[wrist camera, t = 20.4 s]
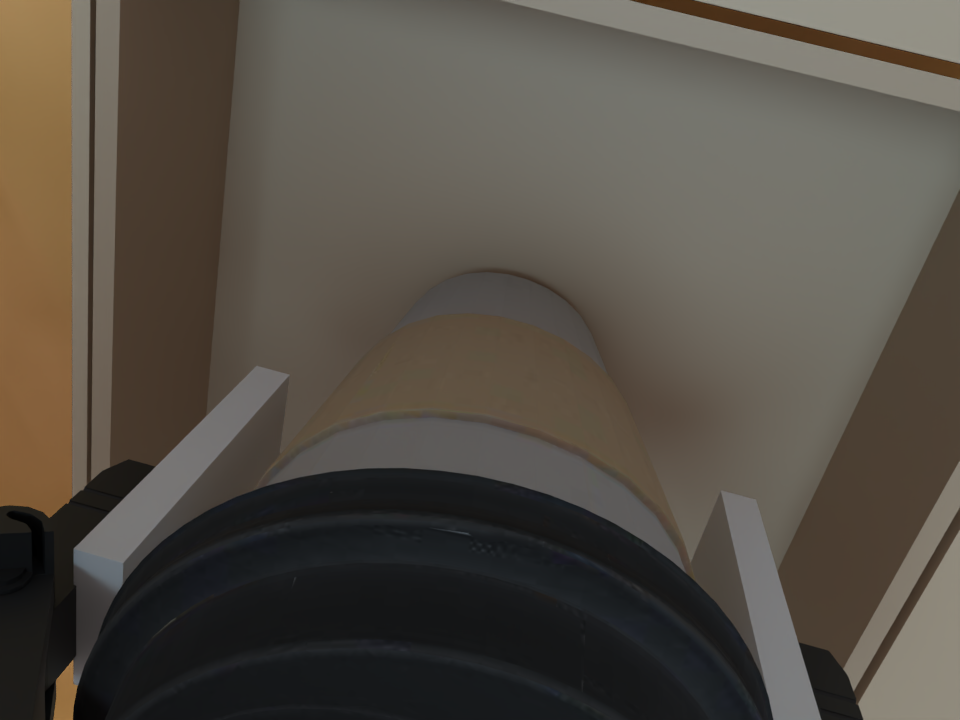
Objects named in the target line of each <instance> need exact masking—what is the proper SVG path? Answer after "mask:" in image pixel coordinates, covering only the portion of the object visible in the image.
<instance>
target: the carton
mask: <svg viewBox="0 0 960 720" xmlns="http://www.w3.org/2000/svg"><path fill="white" fill-rule="evenodd" d="M693 1H697V2H701V3H706V4H710V5H714V6H718V7H722V8H727V9H731V10H735V11H739V12H743V13H747V14H752V15H756V16H760V17H764V18H768V19H773V20H777V21H781V22H785V23H789V24H793V25H798V26H802V27H806V28H810V29H814V30H819V31H823V32H827V33H831V34H835V35H839V36H844V37H848V38H852V39H856V40H860V41H865V42H869V43H873V44H877V45H881V46H885V47H890V48H894V49H898V50H902V51H906V52H911V53H915V54H919V55H923V56H927V57H931V58H936V59H940V60H944V61H948V62H952V63H957V64H960V0H693ZM480 272H492V273H502V274H509V275H513V276H517V277H520V278H524V279H527V280H530V281H533V282H535V283H537V284H539V285H541V286H543V287H546V288H548V289H550V290H551V291H552V292H554V293H555V294H557V295H558V296H560V297H561V298H563V299H564V300H566V301H567V302H568V303H569V304H570V305H571V306H572V307H573V308H574V309H575V310H576V311H577V312H578V313H579V314H580V316H581V317H582V319H583V321H584V322H585V324H586V326H587V327H588V329H589V330H590V332H591V334H592V337H593V339H594V342H595V344H596V346H597V349H598V351H599V354H600V356H601V359H602V361H603V364H604V366H605V369H606V371H607V373H608V375H609V376H610V377H611V379H612V380H613V382H614V383H615V385H616V387H617V388H618V390H619V391H620V393H621V395H622V396H623V398H624V399H625V401H626V403H627V405H628V407H629V410H630V412H631V415H632V417H633V419H634V422H635V424H636V427H637V429H638V431H639V434H640V436H641V439H642V441H643V443H644V446H645V448H646V451H647V453H648V455H649V458H650V460H651V463H652V465H653V468H654V470H655V472H656V475H657V477H658V480H659V482H660V484H661V487H662V489H663V492H664V494H665V496H666V499H667V501H668V504H669V506H670V509H671V511H672V513H673V516H674V518H675V521H676V523H677V525H678V528H679V530H680V533H681V535H682V537H683V540H684V542H685V546H686V549H687V553H688V556H689V560H690V563H691V561H692V558H693V556H694V554H695V551H696V549H697V546H698V544H699V542H700V539H701V537H702V534H703V532H704V530H705V527H706V525H707V522H708V520H709V518H710V515H711V513H712V510H713V508H714V506H715V503H716V501H717V498H718V496H719V494H720V491H721V490H722V491H725V492H729V493H733V494H737V495H740V496H744V497H748V498H752V499H755V500H756V502H757V505H758V508H759V512H760V515H761V518H762V522H763V525H764V529H765V532H766V535H767V539H768V542H769V545H770V549H771V552H772V555H773V559H774V562H775V566H776V569H777V572H778V576H779V579H780V582H781V586H782V589H783V593H784V596H785V599H786V603H787V606H788V609H789V613H790V616H791V619H792V623H793V626H794V630H795V633H796V636H797V640H798V642H800V643H803V644H807V645H810V646H814V647H818V648H821V649H825V650H829V652H830V653H831V654H832V655H833V657H834V658H835V659H836V661H837V662H838V663H839V665H840V666H841V667H842V668H843V670H844V671H845V672H846V674H847V675H848V677H849V680H850V683H851V686H852V688H853V691H854V694H855V697H856V704H857V705H859V708H860V711H861V714H862V717H863V719H864V720H960V80H959V79H955V78H951V77H947V76H942V75H938V74H934V73H930V72H926V71H922V70H917V69H913V68H909V67H905V66H901V65H897V64H892V63H888V62H884V61H880V60H876V59H872V58H867V57H863V56H859V55H855V54H851V53H847V52H842V51H838V50H834V49H830V48H826V47H822V46H817V45H813V44H809V43H805V42H801V41H797V40H792V39H788V38H784V37H780V36H776V35H772V34H767V33H763V32H759V31H755V30H751V29H747V28H742V27H738V26H734V25H730V24H726V23H722V22H717V21H713V20H709V19H705V18H701V17H697V16H692V15H688V14H684V13H680V12H676V11H672V10H667V9H663V8H659V7H655V6H651V5H647V4H642V3H638V2H634V1H630V0H72V498H73V497H74V496H75V495H76V494H77V493H78V492H79V491H80V490H84V487H85V486H86V485H87V484H88V483H89V482H90V481H91V480H93V479H94V478H95V477H96V476H97V475H98V474H99V473H100V472H101V471H103V470H105V469H107V468H110V467H112V466H114V465H116V464H119V463H121V462H123V461H126V460H128V459H130V460H134V461H137V462H141V463H144V464H148V465H152V466H155V467H156V466H157V465H158V464H159V463H160V462H161V461H162V460H163V459H164V458H165V457H166V456H167V455H168V454H169V453H170V452H171V451H172V450H173V449H174V448H175V447H176V446H177V445H178V444H179V443H180V442H181V441H182V440H183V439H184V438H185V437H186V436H187V435H188V434H189V433H190V432H191V431H192V430H193V429H194V428H195V427H196V426H197V425H198V424H199V423H200V422H201V421H202V420H203V419H204V418H205V417H206V416H207V415H208V414H209V413H210V412H211V411H212V410H213V409H214V408H215V407H216V406H217V405H218V404H219V403H220V402H221V401H222V400H223V399H224V398H225V397H226V396H227V395H228V394H229V393H230V392H231V391H232V390H233V389H234V388H235V387H236V386H237V385H238V384H239V383H240V382H241V381H242V380H243V379H244V378H245V377H246V376H247V375H248V374H249V373H250V372H251V371H252V370H253V369H254V368H255V367H256V366H259V367H263V368H267V369H270V370H274V371H278V372H282V373H285V374H289V375H290V377H289V385H288V392H287V400H286V408H285V416H284V423H283V431H282V439H281V447H280V454H281V453H282V452H283V451H284V450H285V448H286V447H287V446H288V445H289V444H290V443H291V441H292V440H293V439H294V438H295V437H296V435H297V434H298V433H299V432H300V431H301V429H302V428H303V427H304V426H305V425H306V423H307V422H308V421H309V420H310V419H311V418H312V416H313V415H314V414H315V413H316V412H317V410H318V409H319V408H320V407H321V406H322V404H323V403H324V402H325V401H326V400H327V399H328V397H329V396H330V395H331V394H332V393H333V391H334V390H335V389H336V388H337V387H338V385H339V384H340V383H341V382H342V381H343V379H344V378H345V377H346V376H347V375H348V374H349V372H350V371H351V370H352V369H353V368H354V366H355V365H356V364H357V363H358V362H359V360H360V359H361V358H362V357H363V356H364V355H365V354H366V353H368V352H369V351H370V350H371V349H372V348H373V347H374V346H375V345H376V344H377V343H378V342H379V341H380V340H381V339H383V338H384V337H386V336H388V335H389V334H390V333H391V332H392V331H393V330H394V329H395V327H396V326H397V325H398V324H399V322H400V321H401V320H402V319H403V318H404V316H405V315H406V314H407V313H408V312H409V310H410V309H411V308H412V307H413V306H414V304H415V303H416V302H417V301H418V300H419V299H421V298H422V297H423V296H424V295H425V294H426V293H427V292H428V291H429V290H430V289H432V288H433V287H435V286H437V285H438V284H440V283H442V282H444V281H445V280H447V279H450V278H453V277H457V276H460V275H463V274H468V273H480ZM280 454H279V456H280Z"/></svg>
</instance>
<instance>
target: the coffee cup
mask: <svg viewBox="0 0 960 720" xmlns="http://www.w3.org/2000/svg"><path fill="white" fill-rule="evenodd" d="M73 720H773V715H772V711H771V706H770V701H769V697H768V694H767V691H766V688H765V685H764V682H763V679H762V676H761V673H760V671H759V669H758V667H757V665H756V663H755V661H754V659H753V656H752V654H751V652H750V650H749V648H748V647H747V645H746V644H745V642H744V640H743V639H742V637H741V636H740V634H739V632H738V631H737V629H736V628H735V626H734V625H733V623H732V622H731V621H730V620H729V618H728V617H727V616H726V615H725V613H724V612H723V611H722V609H721V608H720V607H719V606H718V604H717V603H716V602H715V601H714V600H713V599H712V598H711V597H710V596H709V595H708V594H707V593H706V592H705V591H704V590H703V589H702V588H701V587H700V586H699V585H698V583H697V582H696V581H695V577H694V574H693V570H692V567H691V563H690V560H689V556H688V553H687V549H686V546H685V542H684V540H683V537H682V535H681V533H680V530H679V528H678V525H677V523H676V521H675V518H674V516H673V513H672V511H671V509H670V506H669V504H668V501H667V499H666V496H665V494H664V492H663V489H662V487H661V484H660V482H659V480H658V477H657V475H656V472H655V470H654V468H653V465H652V463H651V460H650V458H649V455H648V453H647V451H646V448H645V446H644V443H643V441H642V439H641V436H640V434H639V431H638V429H637V427H636V424H635V422H634V419H633V417H632V415H631V412H630V410H629V407H628V405H627V403H626V401H625V399H624V398H623V396H622V395H621V393H620V391H619V390H618V388H617V387H616V385H615V383H614V382H613V380H612V379H611V377H610V376H609V375H608V373H607V371H606V369H605V366H604V364H603V361H602V359H601V356H600V354H599V351H598V349H597V346H596V344H595V342H594V339H593V337H592V334H591V332H590V330H589V329H588V327H587V326H586V324H585V322H584V321H583V319H582V317H581V316H580V314H579V313H578V312H577V311H576V310H575V309H574V308H573V307H572V306H571V305H570V304H569V303H568V302H567V301H566V300H564V299H563V298H561V297H560V296H558V295H557V294H555V293H554V292H552V291H551V290H550V289H548V288H546V287H543V286H541V285H539V284H537V283H535V282H533V281H530V280H527V279H524V278H520V277H517V276H513V275H509V274H502V273H492V272H480V273H468V274H463V275H460V276H457V277H453V278H450V279H447V280H445V281H444V282H442V283H440V284H438V285H437V286H435V287H433V288H432V289H430V290H429V291H428V292H427V293H426V294H425V295H424V296H423V297H422V298H421V299H419V300H418V301H417V302H416V303H415V304H414V306H413V307H412V308H411V309H410V310H409V312H408V313H407V314H406V315H405V316H404V318H403V319H402V320H401V321H400V322H399V324H398V325H397V326H396V327H395V329H394V330H393V331H392V332H391V333H390V334H389V335H388V336H386V337H384V338H383V339H381V340H380V341H379V342H378V343H377V344H376V345H375V346H374V347H373V348H372V349H371V350H370V351H369V352H368V353H366V354H365V355H364V356H363V357H362V358H361V359H360V360H359V362H358V363H357V364H356V365H355V366H354V368H353V369H352V370H351V371H350V372H349V374H348V375H347V376H346V377H345V378H344V379H343V381H342V382H341V383H340V384H339V385H338V387H337V388H336V389H335V390H334V391H333V393H332V394H331V395H330V396H329V397H328V399H327V400H326V401H325V402H324V403H323V404H322V406H321V407H320V408H319V409H318V410H317V412H316V413H315V414H314V415H313V416H312V418H311V419H310V420H309V421H308V422H307V423H306V425H305V426H304V427H303V428H302V429H301V431H300V432H299V433H298V434H297V435H296V437H295V438H294V439H293V440H292V441H291V443H290V444H289V445H288V446H287V447H286V448H285V450H284V451H283V452H282V453H281V454H280V456H279V457H278V458H277V459H276V460H275V462H274V463H273V464H272V465H271V466H270V467H269V469H268V470H267V471H266V472H265V474H264V475H263V477H262V478H261V480H260V481H259V483H258V484H257V486H256V487H255V489H254V490H253V491H251V492H248V493H245V494H242V495H240V496H237V497H235V498H233V499H230V500H228V501H226V502H224V503H222V504H220V505H218V506H216V507H214V508H211V509H209V510H208V511H206V512H204V513H203V514H201V515H199V516H198V517H196V518H194V519H193V520H191V521H189V522H188V523H186V524H184V525H183V526H182V527H180V528H179V529H178V530H176V531H175V532H174V533H172V534H171V535H170V536H168V537H167V538H166V539H164V540H163V541H162V542H161V543H160V544H159V545H157V546H156V547H155V548H154V549H153V550H152V551H151V552H150V553H149V554H148V555H147V556H146V557H145V558H144V559H143V560H142V561H141V562H140V563H139V565H138V566H137V567H136V568H135V569H134V571H133V572H132V573H131V574H130V575H129V577H128V578H127V579H126V580H125V582H124V584H123V585H122V587H121V588H120V590H119V591H118V593H117V594H116V596H115V598H114V599H113V601H112V603H111V605H110V607H109V610H108V612H107V614H106V616H105V618H104V620H103V623H102V626H101V629H100V632H99V635H98V638H97V641H96V642H95V644H94V646H93V648H92V651H91V653H90V655H89V657H88V659H87V661H86V663H85V665H84V668H83V671H82V675H81V678H80V681H79V684H78V687H77V693H76V698H75V704H74V713H73Z"/></svg>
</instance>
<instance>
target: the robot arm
mask: <svg viewBox="0 0 960 720" xmlns="http://www.w3.org/2000/svg"><path fill="white" fill-rule="evenodd" d="M289 377H290V375H289V374H285V373H282V372H278V371H274V370H270V369H267V368H263V367H259V366H256V367H255V368H254V369H253V370H252V371H251V372H250V373H249V374H248V375H247V376H246V377H245V378H244V379H243V380H242V381H241V382H240V383H239V384H238V385H237V386H236V387H235V388H234V389H233V390H232V391H231V392H230V393H229V394H228V395H227V396H226V397H225V398H224V399H223V400H222V401H221V402H220V403H219V404H218V405H217V406H216V407H215V408H214V409H213V410H212V411H211V412H210V413H209V414H208V415H207V416H206V417H205V418H204V419H203V420H202V421H201V422H200V423H199V424H198V425H197V426H196V427H195V428H194V429H193V430H192V431H191V432H190V433H189V434H188V435H187V436H186V437H185V438H184V439H183V440H182V441H181V442H180V443H179V444H178V445H177V446H176V447H175V448H174V449H173V450H172V451H171V452H170V453H169V454H168V455H167V456H166V457H165V458H164V459H163V460H162V461H161V462H160V463H159V464H158V465H157V466H156V467H155V466H152V465H148V464H144V463H141V462H137V461H134V460H130V459H128V460H126V461H123V462H121V463H119V464H116V465H114V466H112V467H110V468H107V469H105V470H103V471H101V472H100V473H99V474H98V475H97V476H96V477H95V478H94V479H93V480H91V481H90V482H89V483H88V484H87V485H86V486H85V487H84V490H80V491H79V492H78V493H77V494H76V495H75V496H74V497H73V498H72V499H70V502H69V503H68V504H65V505H64V506H63V507H62V508H60V509H59V510H58V511H57V512H56V513H55V514H54V515H53V516H52V517H50V518H49V517H47V516H46V515H45V514H44V513H43V512H41V511H38V510H35V509H33V508H30V507H23V506H10V505H9V506H2V507H0V720H53V717H54V709H55V701H56V679H57V678H58V677H59V676H60V674H61V673H62V672H63V671H64V670H65V668H66V667H67V666H68V665H69V664H70V662H71V661H72V660H73V659H74V684H75V685H78V684H79V681H80V678H81V675H82V671H83V668H84V665H85V663H86V661H87V659H88V657H89V655H90V653H91V651H92V648H93V646H94V644H95V642H96V641H97V638H98V635H99V632H100V629H101V626H102V623H103V620H104V618H105V616H106V614H107V612H108V610H109V607H110V605H111V603H112V601H113V599H114V598H115V596H116V594H117V593H118V591H119V590H120V588H121V587H122V585H123V584H124V582H125V580H126V579H127V578H128V577H129V575H130V574H131V573H132V572H133V571H134V569H135V568H136V567H137V566H138V565H139V563H140V562H141V561H142V560H143V559H144V558H145V557H146V556H147V555H148V554H149V553H150V552H151V551H152V550H153V549H154V548H155V547H156V546H157V545H159V544H160V543H161V542H162V541H163V540H164V539H166V538H167V537H168V536H170V535H171V534H172V533H174V532H175V531H176V530H178V529H179V528H180V527H182V526H183V525H184V524H186V523H188V522H189V521H191V520H193V519H194V518H196V517H198V516H199V515H201V514H203V513H204V512H206V511H208V510H209V509H211V508H214V507H216V506H218V505H220V504H222V503H224V502H226V501H228V500H230V499H233V498H235V497H237V496H240V495H242V494H245V493H248V492H251V491H253V490H254V489H255V487H256V486H257V484H258V483H259V481H260V480H261V478H262V477H263V475H264V474H265V472H266V471H267V470H268V469H269V467H270V466H271V465H272V464H273V463H274V462H275V460H276V459H277V458H278V457H279V454H280V447H281V439H282V431H283V423H284V416H285V408H286V400H287V392H288V385H289ZM691 567H692V570H693V574H694V577H695V581H696V582H697V583H698V585H699V586H700V587H701V588H702V589H703V590H704V591H705V592H706V593H707V594H708V595H709V596H710V597H711V598H712V599H713V600H714V601H715V602H716V603H717V604H718V606H719V607H720V608H721V609H722V611H723V612H724V613H725V615H726V616H727V617H728V618H729V620H730V621H731V622H732V623H733V625H734V626H735V628H736V629H737V631H738V632H739V634H740V636H741V637H742V639H743V640H744V642H745V644H746V645H747V647H748V648H749V650H750V652H751V654H752V656H753V659H754V661H755V663H756V665H757V667H758V669H759V671H760V673H761V676H762V679H763V682H764V685H765V688H766V691H767V694H768V697H769V701H770V706H771V711H772V715H773V720H864V719H863V717H862V714H861V711H860V708H859V705H857V704H856V697H855V694H854V691H853V688H852V686H851V683H850V680H849V677H848V675H847V674H846V672H845V671H844V670H843V668H842V667H841V666H840V665H839V663H838V662H837V661H836V659H835V658H834V657H833V655H832V654H831V653H830V652H829V650H825V649H821V648H818V647H814V646H810V645H807V644H803V643H800V642H798V640H797V636H796V633H795V630H794V626H793V623H792V619H791V616H790V613H789V609H788V606H787V603H786V599H785V596H784V593H783V589H782V586H781V582H780V579H779V576H778V572H777V569H776V566H775V562H774V559H773V555H772V552H771V549H770V545H769V542H768V539H767V535H766V532H765V529H764V525H763V522H762V518H761V515H760V512H759V508H758V505H757V502H756V500H755V499H752V498H748V497H744V496H740V495H737V494H733V493H729V492H725V491H722V490H721V491H720V494H719V496H718V498H717V501H716V503H715V506H714V508H713V510H712V513H711V515H710V518H709V520H708V522H707V525H706V527H705V530H704V532H703V534H702V537H701V539H700V542H699V544H698V546H697V549H696V551H695V554H694V556H693V558H692V561H691Z"/></svg>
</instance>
